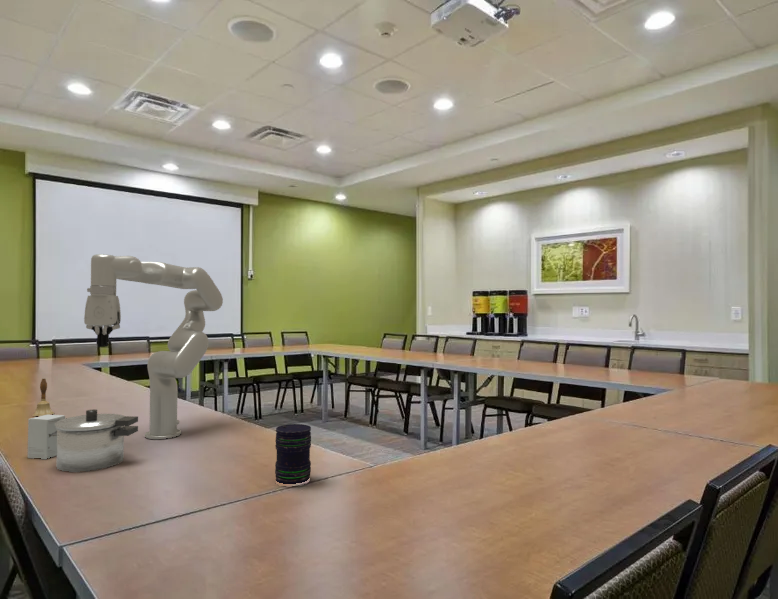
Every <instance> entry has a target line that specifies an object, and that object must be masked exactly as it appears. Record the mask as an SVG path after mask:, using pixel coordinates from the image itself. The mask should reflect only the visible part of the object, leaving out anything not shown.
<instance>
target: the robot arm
mask: <svg viewBox="0 0 778 599" xmlns="http://www.w3.org/2000/svg"><path fill="white" fill-rule="evenodd" d="M117 280H121V281H126V282H127V281H128V282H133V283H140V284H141V283H142V284H148V285H155V286H161V287H162V286H163V287H169V288H172V289H173V288H175V289H180V290H190V291H189V292H187V293H186V294H185V295H184V299H183V305H184V310H185V316H184V318H183V320H182V322H181V323H180V324H179V325H178V327H177V328H176V330H175V331H174V332H173V333H172V334H171V336H170V337H169V339H168V342H167V348H168V350H159V351H156V352H154V353H151V355H150V356H149V358H148V360H147V365H146V366H147V373H148V377H149V426H148V427H149V428H148V430H149V431H146V432H145V433H144V438H145V437H146V439H150V440H165V439H166V438H168V439H172V437H173V438H176V436H177V437H178V436H181V435H182V430H181V429H179V428H178V425H180V420H178V392H179V391H178V390H179V389H178V383H177V380H176V379H182V378H186V377H188V376H189V375H190V374H191V373H193V370H194V369H195V368H196V366H197V365H198V364H199V362H200V361H201V360H202V358H203V357H204V355H205V354H206V352H207V351H208V348H209V338H208V336H207V334H206V333H205V332H203V331H204V329H205V327H206V319H205V314H204V313H205V312H215V311H218V310H220V309H221V307H222V306H223V303H224V301H223V300H224V299H223V298H224V297H223V295H222V293H221V290H220V289H219V288H218V286H217V285H216V284H215V282H214V280H213V279H212V277H211V276H210V274H208V272H206V270H205V269H203V268H202V267H199V266H196V267H195V266H194V267H191V266H190V267H185V266H179V265H176V264H170V263H165V262H161V261H160V262H159V261H141V260H140V259H139V258H137V257H135V256H131V255H118V256H117V255H113V254H112V255H111V254H104V253H103V254H102V253H101V254H100V253H99V254H93V255H92V256H91V258H90V287H87V289H86V291H87V292H88V293H89V294H90V295H87V298H86V302H85V307H84V318H83V321H84V324H85V325H86V326H85V328H86V329H88V330H92V331H93V332H95V333H94V334H95V335H96V339H97V340H96V344H97V347H98V348H107V347H108V346H109V344H110V343H109V339H110V336H109V335H111V333H112V332H113V331H114V330H119V329H120V328H121V325H120V324H121V320H122V319H121V317H122V316H121V315H122V314H121V304H120V299H119V296H118V295H117ZM180 434H181V435H180ZM166 440H167V439H166Z"/></svg>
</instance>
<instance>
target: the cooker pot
mask: <svg viewBox="0 0 778 599" xmlns="http://www.w3.org/2000/svg"><path fill="white" fill-rule="evenodd" d="M137 432H139V426H138V425H130V426H115V427H111V428H106V429H100V430H92V431H61V430H57V456H56V463H55V464H56V466H55V467H57V468H56V470H58V469H59V470H58V471H60V470H62V471H61V472H64V471H69V472H68V473H81V472H80V471H86V472H91V471H90V470H94V471H98V470H97V469H100V470H103V469H102V468H105V469H108V468H111V467H110V466H112V467H114V466H113V465H115V466H117V465H119V464H121V463H122V462H124V459H123V458H124V454H125V453H124V452H125V451H124V450H125V449H124V448H125V447H124V444H125V443H124V442H125V441H124V439H125V438H124V437H128V436H130V435H133V434H135V433H137ZM121 461H122V462H121ZM120 462H121V463H120ZM118 463H119V464H118ZM116 464H117V465H116ZM107 467H108V468H107Z"/></svg>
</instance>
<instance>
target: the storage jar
mask: <svg viewBox="0 0 778 599" xmlns="http://www.w3.org/2000/svg"><path fill="white" fill-rule="evenodd" d="M311 430H312V427H311V426H310V425H309V424H303V423H302V424H301V423H288V424H282V425H278V426H277V427H276V428H275V432H276V433H275V445H274V446H275V450H276V461H275V469H274V474H275V480H276V481H277V482H279V483H283V484H296V483H302V482H305V481H307V480H308V479H309V478H310V479H311V472H312V471H311V470H312V468H311V465H312V462H311V459H310V458H311V457H310V456H311V455H310V454H311V452H310V451H311V448H312V447H311V446H312V433H311Z"/></svg>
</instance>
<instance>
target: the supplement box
mask: <svg viewBox="0 0 778 599" xmlns="http://www.w3.org/2000/svg"><path fill="white" fill-rule="evenodd" d="M62 419H66V414H65V415H63V414H53V415H43V416H39V417H31V418H28V419H27V421H28V423H27V425H28V427H27V458H28V459H34V458H41V459H40V460H48V459H50V457H51V458H53V457H57V429H55V423H56V422H57V421H59V420H62ZM47 458H48V459H47Z"/></svg>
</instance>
